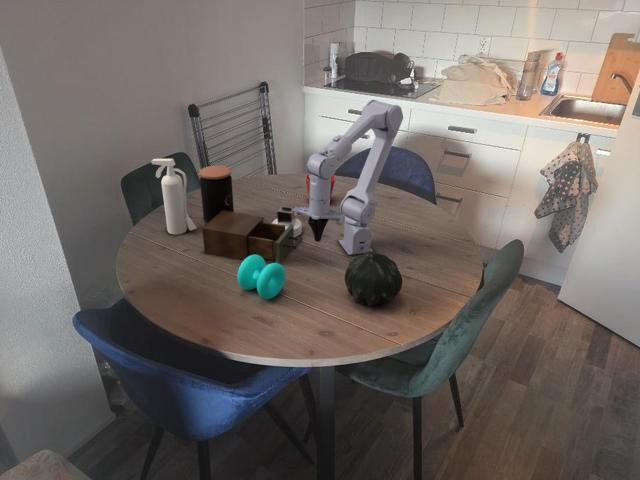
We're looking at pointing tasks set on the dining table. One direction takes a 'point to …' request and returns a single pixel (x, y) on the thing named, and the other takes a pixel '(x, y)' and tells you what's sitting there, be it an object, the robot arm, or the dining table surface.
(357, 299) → the squash
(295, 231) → the white ridged disc
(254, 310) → the dining table surface
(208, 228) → the cabinet
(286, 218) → the cube with black handle
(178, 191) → the fire extinguisher
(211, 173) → the coffee jar
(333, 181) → the flower pot
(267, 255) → the drawer
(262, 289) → the teal yo-yo
